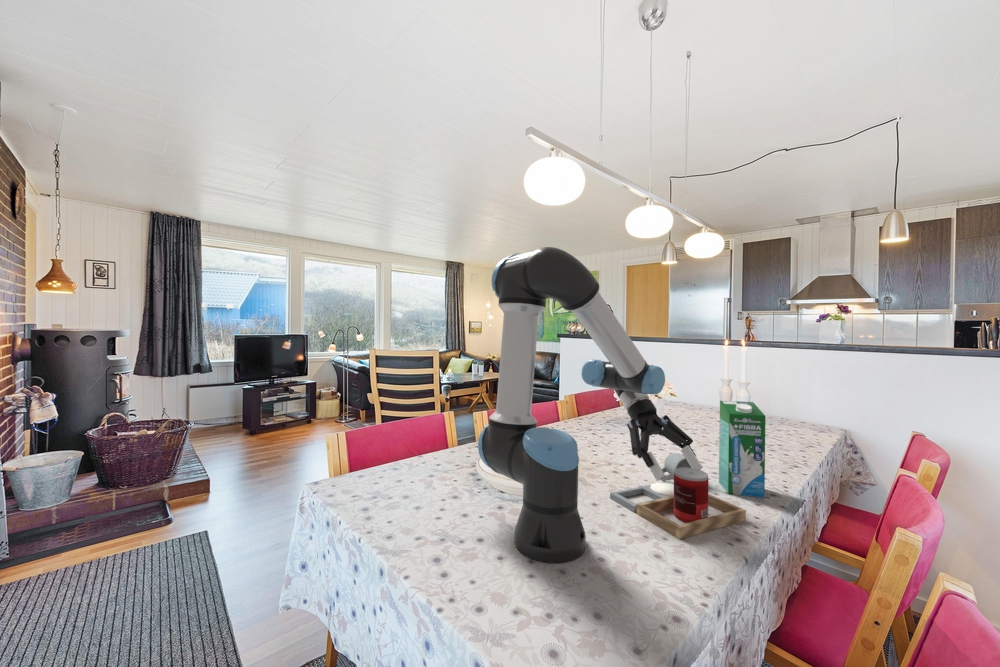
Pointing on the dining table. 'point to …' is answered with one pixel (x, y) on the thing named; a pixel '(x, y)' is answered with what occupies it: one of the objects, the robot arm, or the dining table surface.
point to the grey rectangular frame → (651, 491)
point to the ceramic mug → (674, 465)
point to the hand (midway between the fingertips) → (680, 474)
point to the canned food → (690, 494)
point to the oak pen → (696, 527)
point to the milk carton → (742, 448)
